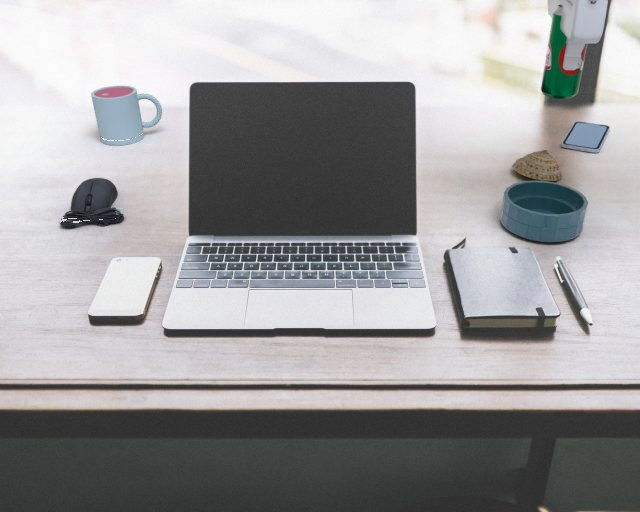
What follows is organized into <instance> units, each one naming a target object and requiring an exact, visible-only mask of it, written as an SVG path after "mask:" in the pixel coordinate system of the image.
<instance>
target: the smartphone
mask: <svg viewBox="0 0 640 512" xmlns="http://www.w3.org/2000/svg"><path fill="white" fill-rule="evenodd" d="M610 129H611V126H610V125H607V124H606V125H605V124H602V123H601V124H600V123H594V122H586V121H574V122H573V124H572V125H571V127H570V128H569V130H568V132H567V133H566V135H565V136H564V138H563V139H562V142H561V143H560V147H562V148H564V149H567V150H568V149H569V150H575V151H582V152H588V153H592V154H593V153H594V154H596V153H600V151H601V149H602V147H603V145H604V142H606V141H605V140H606V138H607V136H608V135H609V132H610Z"/></svg>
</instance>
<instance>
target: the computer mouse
mask: <svg viewBox="0 0 640 512" xmlns="http://www.w3.org/2000/svg"><path fill="white" fill-rule="evenodd" d="M118 195H119V194H118V189H117V187H116V185H115V184H114V183H113V181H111V180H109V179H108V178H103V177H93V178H88V179H86V180H83V181H82V182H81V183H80V184H79V185H78V187H77V188H76V189H75V190H74V193H73V195H72V198H71V203H70V210H68V211H66V212H65V213H64V215H63V216H62V217H64V218H63V219H67V220H66V221H64V222H63V221H62V222H61V223H60V222H59V225H60V227H63V228H70V227H74V226H78V225H82V224H85V223H88V224H92V223H93V224H95V225H97V226H101V227H106V226H109V225H111V224H116V223H121V222H123V221H124V219H125V214H124V213H125V212H124V209H125V208H124V207H121V208H116V207H111V206H112V204H113V203H114V201H115V200H116V199H117V197H118ZM68 218H77V219H68ZM115 218H116V219H115ZM99 219H103V220H99ZM60 220H62V218H61V219H60ZM79 220H80V221H82V222H79V223H71V222H73V221H79ZM83 220H90V221H83Z"/></svg>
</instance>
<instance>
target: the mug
mask: <svg viewBox="0 0 640 512" xmlns="http://www.w3.org/2000/svg"><path fill="white" fill-rule="evenodd" d="M90 96H91V101H92V106H93V111H94V116H95V120H96V124H97V129H98V134H99V139H100V142H101V143H102V144H103V145H106V146H128V145H133V144H135V143H138V142H140V141H142V140H143V139H144V138H145V131H144V132H143V130H144V129H145V128H146V129H148V128H152V127H155V126H157V124H159V122H160V121H161V119H162V117H163V108H162V104H161V103H160V101H159V100H158V99H157V97H155V96H154V95H152V94H150V93H145V92H144V93H143V92H142V93H138V91H137V87H134V86H131V85H109V86H104V87H100V88H97V89H95V90H93V91H92V92H90ZM141 100H148V101H150V102H151V103H152V104H153V105H154V106H155V109H156V115H155V117H154V118H153V119H152V120H150V121H146V122H145V121H143V120H142V114H141V113H142V112H141V109H140V102H139V101H141ZM142 133H143V134H142ZM141 134H142V135H141ZM139 135H140V136H139ZM100 136H101V137H102V138H104V139H107V140H114V141H107V140H103V139H102V138H100ZM135 137H136V138H135ZM132 138H133V139H132ZM126 139H130V140H126ZM115 140H117V141H115ZM118 140H124V141H118Z"/></svg>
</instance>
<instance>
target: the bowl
mask: <svg viewBox="0 0 640 512" xmlns="http://www.w3.org/2000/svg"><path fill="white" fill-rule="evenodd" d="M588 205H589V201H588V199H587V197H586V195H585V194H583V193H582V192H581V191H579V190H577V189H575V188H573V187H571V186H569V185H565V184H562V183H558V182H555V181H541V180H527V181H526V180H525V181H519V182H515V183H512V184H510V185H509V186H507V187H506V188H505V190H504V191H503V195H502V202H501V207H500V208H501V209H500V214H499V215H500V216H499V219H500V224H502V226H503V227H504V228H505V229H506V230H507V231H509V232H510V233H512V234H513V235H516V236H517V237H519V238H523V239H525V240H528V241H532V242H536V243H537V242H538V243H548V244H549V243H552V244H553V243H561V242H566V241H570V240H573V239H575V238H577V237H578V236H579V235H581V234H582V230H583V228H584V223H585V218H586V214H587V210H588Z"/></svg>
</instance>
